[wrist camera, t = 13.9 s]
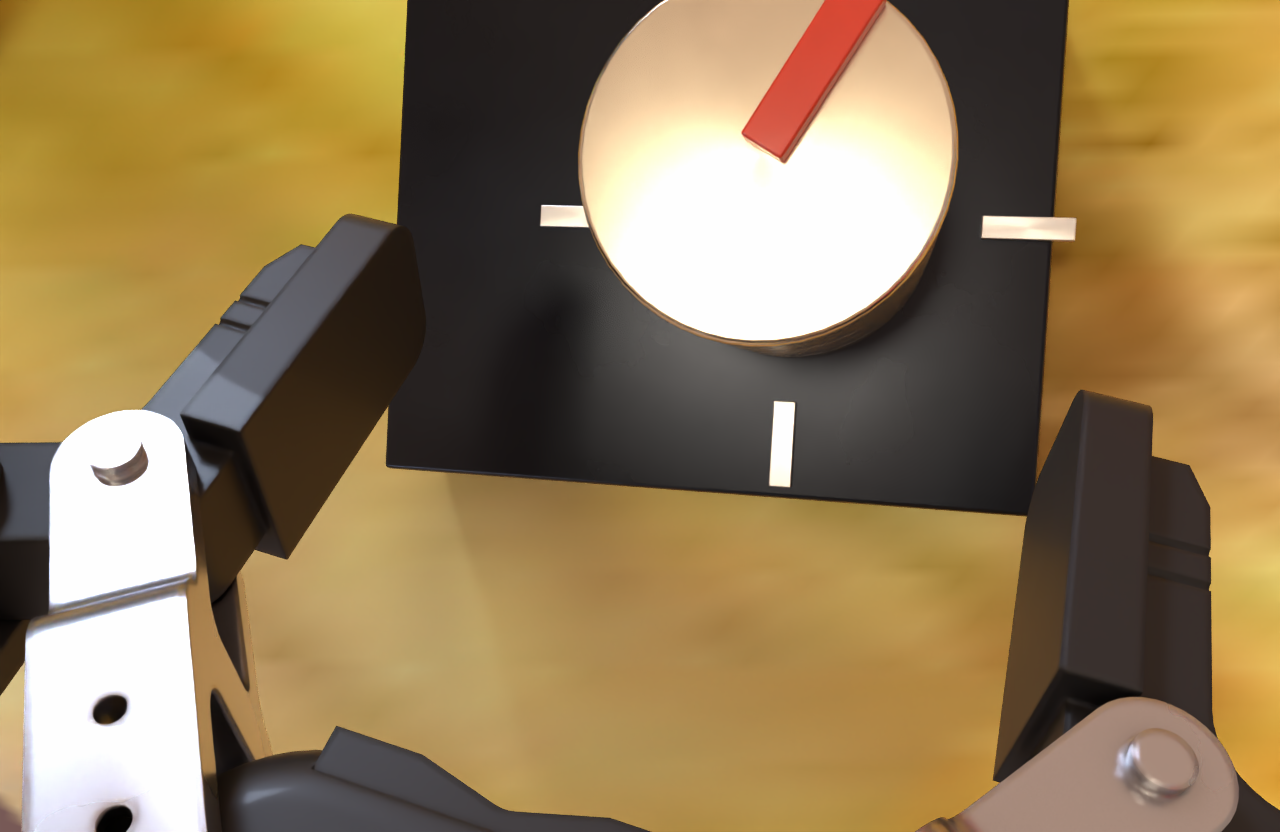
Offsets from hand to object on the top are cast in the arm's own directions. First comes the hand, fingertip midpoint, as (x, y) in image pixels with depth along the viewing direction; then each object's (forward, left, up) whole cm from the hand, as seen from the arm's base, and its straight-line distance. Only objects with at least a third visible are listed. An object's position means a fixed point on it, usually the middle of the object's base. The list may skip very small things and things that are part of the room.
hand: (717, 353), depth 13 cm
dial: (0, +2, -5) cm, 6 cm away
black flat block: (-1, +2, -8) cm, 8 cm away
